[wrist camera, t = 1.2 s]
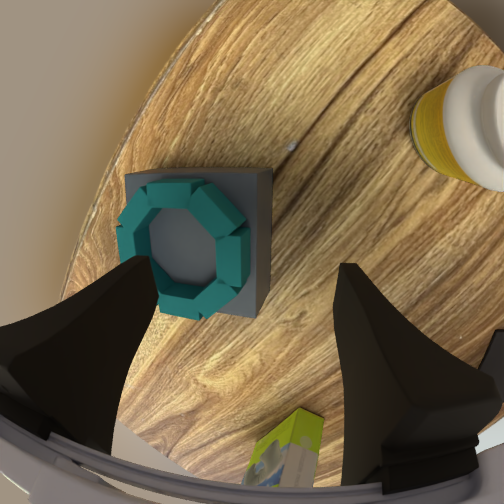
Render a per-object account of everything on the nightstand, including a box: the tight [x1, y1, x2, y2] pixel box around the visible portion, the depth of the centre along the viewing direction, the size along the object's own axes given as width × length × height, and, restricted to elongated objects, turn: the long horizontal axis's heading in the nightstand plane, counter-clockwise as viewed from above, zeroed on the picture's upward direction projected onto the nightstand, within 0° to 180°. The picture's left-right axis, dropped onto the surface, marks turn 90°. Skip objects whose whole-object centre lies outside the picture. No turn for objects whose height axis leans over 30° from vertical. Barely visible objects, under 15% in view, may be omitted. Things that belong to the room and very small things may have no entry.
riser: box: [125, 167, 273, 318], centre depth 23 cm, size 10×10×4 cm
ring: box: [116, 179, 250, 320], centre depth 20 cm, size 9×9×2 cm
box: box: [241, 407, 324, 488], centre depth 23 cm, size 10×4×17 cm, turn 155°
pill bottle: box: [409, 65, 504, 192], centre depth 12 cm, size 6×6×12 cm
